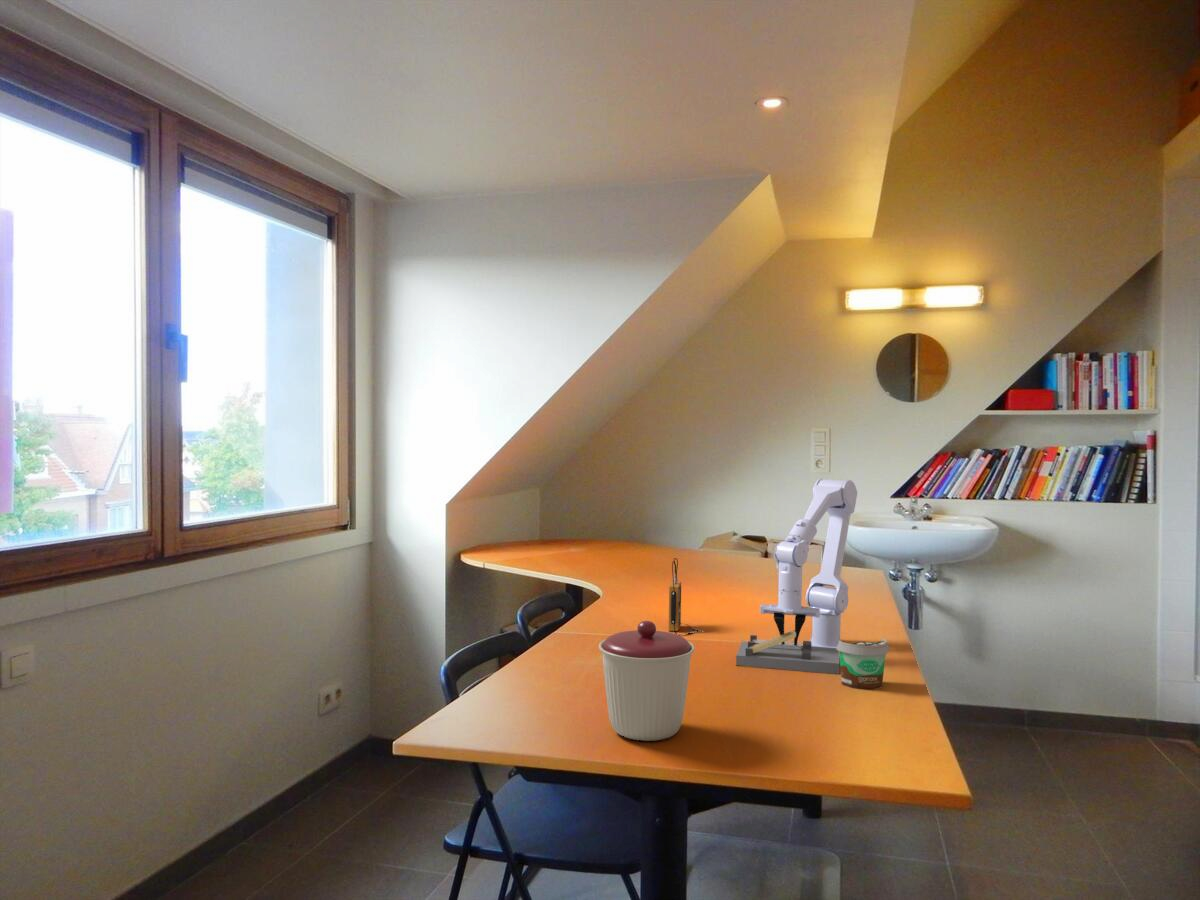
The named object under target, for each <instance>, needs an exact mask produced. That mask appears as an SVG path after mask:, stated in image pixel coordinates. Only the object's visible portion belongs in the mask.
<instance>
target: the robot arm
mask: <svg viewBox="0 0 1200 900" xmlns="http://www.w3.org/2000/svg"><path fill="white" fill-rule="evenodd" d="M856 487H857V486H856V484H855V483H854V481H853V480H851V479H847V480H843V479H842V480H841V479H827V478H821V477H820V478H818V479H817V480H816V481H815V483H814V486H813V488H812V496H813V498H812V500H811V502H810V504H809V507H808V509H807V510H806V513H805V515H804V517H803V518H800V519H797V520H796V522H794V523H795V524H794V525H793V527H792V528H791V530H790V532H789V533H788V535H787V536H786V538H785V539H784V540H783V541H780V542H778V543H777V545H776V546H775V549H774V553H773V558H774V560H775V563H776V570H777V571H778V585H777V586H778V594H777V595H778V596H777V597H778V598H777V599H778V601H777V604H760V606H759V614H760V615H761V614H762V615H765V614H769V615H771V614H772V615H773V621H774V623H775V625H776V626H777V630H778V633H779V636H780V635H782V634H785V616H786V615H787V616H794V630H795V632H796V637H795V638H793V639H794V640H793V642H794V645H797V642H798V639H799V636H800V632H801V631H802V628H803V625H804V623H805V621H806V619H807V618H806V617H812V621H811V622H812V625H811V626H812V630H811V632H812V633H811V637H810V641H811V646H812V647H826V648H837V644H839V641H841V642H843V641H842V639H841V626H842V625H841V618H842V614H843V613H844V611H846V609H847V607H848V605H849V586H848V584H847V582H846V581H844V579H843V578H842V577H841V573H842V566H843V562H844V555H845V551H846V550H845V549H846V543H847V537H848V531H849V526H850V519H851V515H853V514H854V512H855V509H856V503H857V498H858V490H857V488H856ZM826 512H827V513H828V515H829V520H828V526H827V532H826V538H825V543H824V549H823V555H822V559H821V566H820V570H819V571H820V572H819V574H817V575H815V576H813V577H812V578H811V579H810V582H809V586H808V588H807V590H806V593H805V602H806V605H807V606H802V598H803V597H802V596H803V594H802V593H803V566H804V565H805V563H806V562H807V560H808V554H809V551H810V545H811V544H812V541H813V540H814V538H815V537H816V535H817V532H818V529H817V527H816V526H817V525H818V523H819V522H820V520H822V518H823V516H824V515H825V513H826ZM784 643H785V641H784V642H782V643H781V644H784Z"/></svg>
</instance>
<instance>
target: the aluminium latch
mask: <svg viewBox="0 0 1200 900" xmlns="http://www.w3.org/2000/svg"><path fill="white" fill-rule="evenodd" d="M767 640H768V639H758V638H757V639H753V641H754V642H755V645H756V644H759V643H761V642H764V641H767ZM802 646H803V642H799V641H797V645H794V641H789V640H787V641H785V643H784V644H781V643H779V644H777V645H774V646H771V647H769V648H781V649H795V650H801V647H802Z"/></svg>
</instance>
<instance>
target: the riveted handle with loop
mask: <svg viewBox="0 0 1200 900" xmlns="http://www.w3.org/2000/svg"><path fill="white" fill-rule="evenodd" d="M671 564H672V565H671V571H672V572H671V574H672V581H671V583H670V584H669V585H668V632H674V631H678V630H680V628H681V626H682V624H681V623H682V621H681V619H682V581H678V566H679V560H678V558H677V557H676V558H673V561H671ZM690 628H692V629H691V630H693V629H695V630H694V631H690V632H687V633H686V634H688V633H693V634H694V632H695V633H697V631H696V630H698V632H701V631H702V632H701V633H704V632H705V631H703V630H701V629H699V628H695V627H690V626H689V628H688V629H690ZM678 632H679V631H678ZM674 634H676V635H677V634H678V633H677V632H674Z"/></svg>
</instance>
